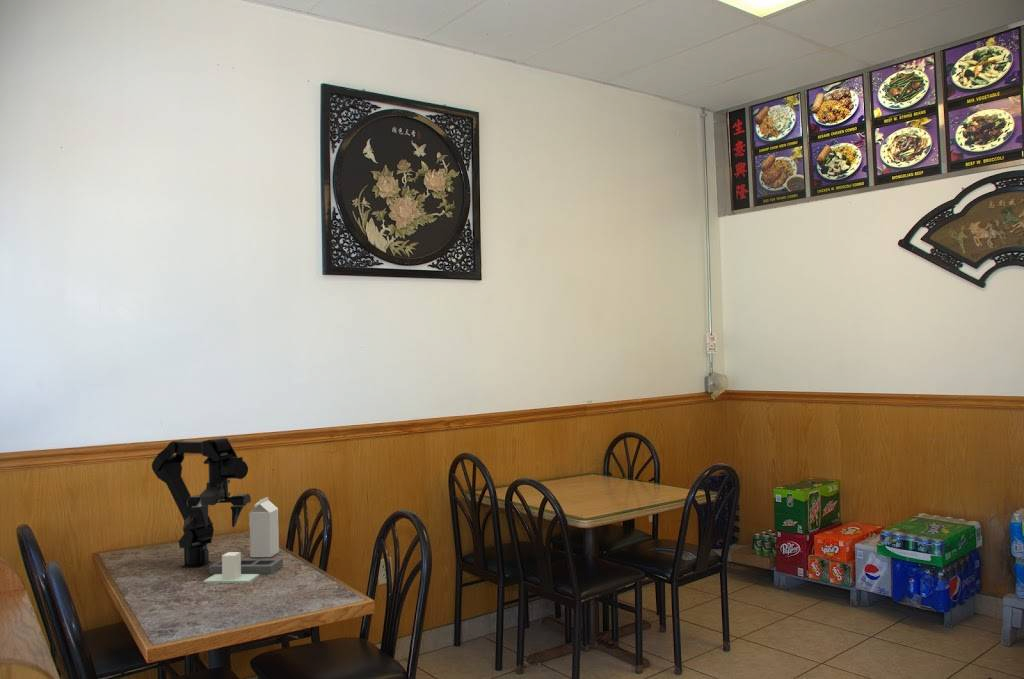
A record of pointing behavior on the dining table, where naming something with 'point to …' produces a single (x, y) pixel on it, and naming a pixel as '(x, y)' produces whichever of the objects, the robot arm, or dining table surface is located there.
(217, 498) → the robot arm
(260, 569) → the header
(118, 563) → the dining table surface
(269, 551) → the milk carton
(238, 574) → the plug
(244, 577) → the mat
